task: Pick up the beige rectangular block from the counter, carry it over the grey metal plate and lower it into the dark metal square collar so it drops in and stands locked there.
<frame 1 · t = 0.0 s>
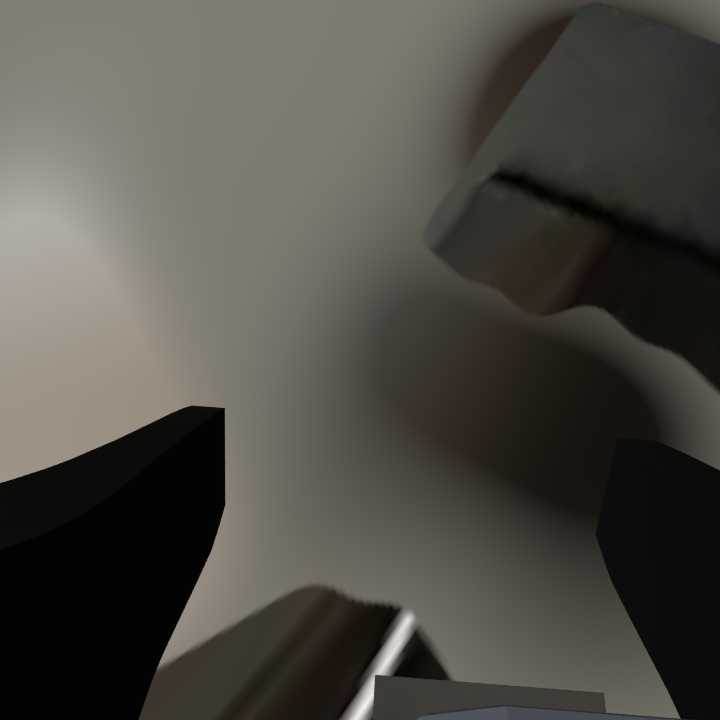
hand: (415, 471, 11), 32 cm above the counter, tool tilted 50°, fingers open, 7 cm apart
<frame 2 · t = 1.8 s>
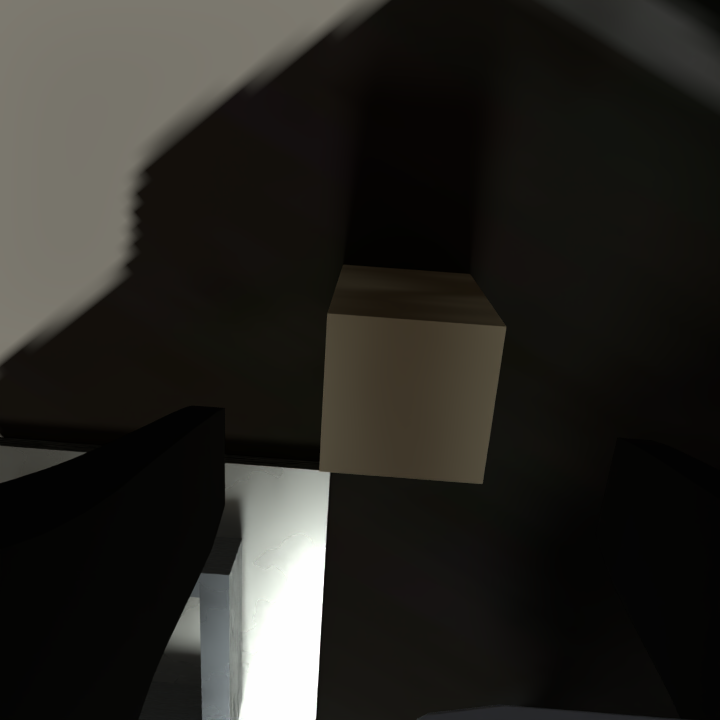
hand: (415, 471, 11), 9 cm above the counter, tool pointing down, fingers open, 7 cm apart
beige rectangular block: (400, 330, 20), on the counter
socket plate: (142, 608, 24), on the counter
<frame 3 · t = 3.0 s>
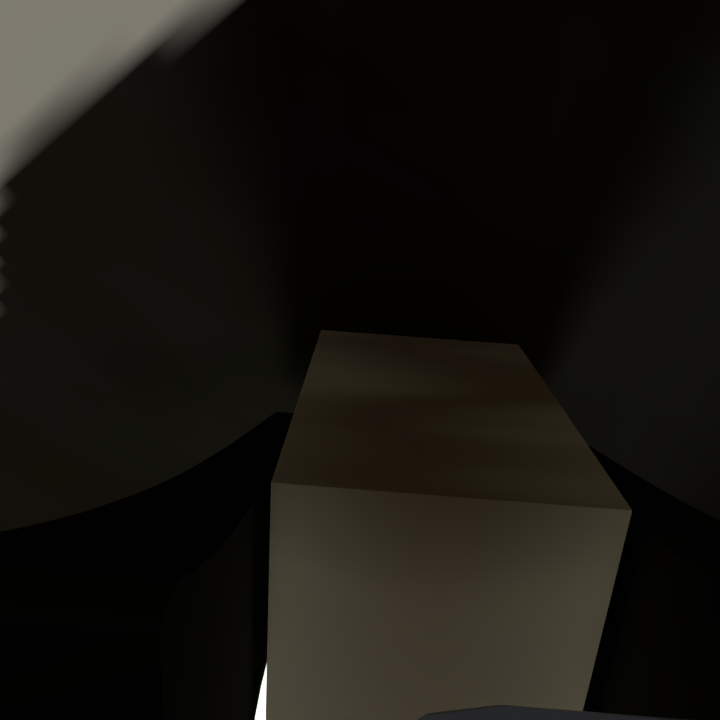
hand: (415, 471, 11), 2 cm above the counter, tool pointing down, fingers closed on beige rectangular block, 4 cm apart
beige rectangular block: (410, 426, 13), on the counter, touching gripper
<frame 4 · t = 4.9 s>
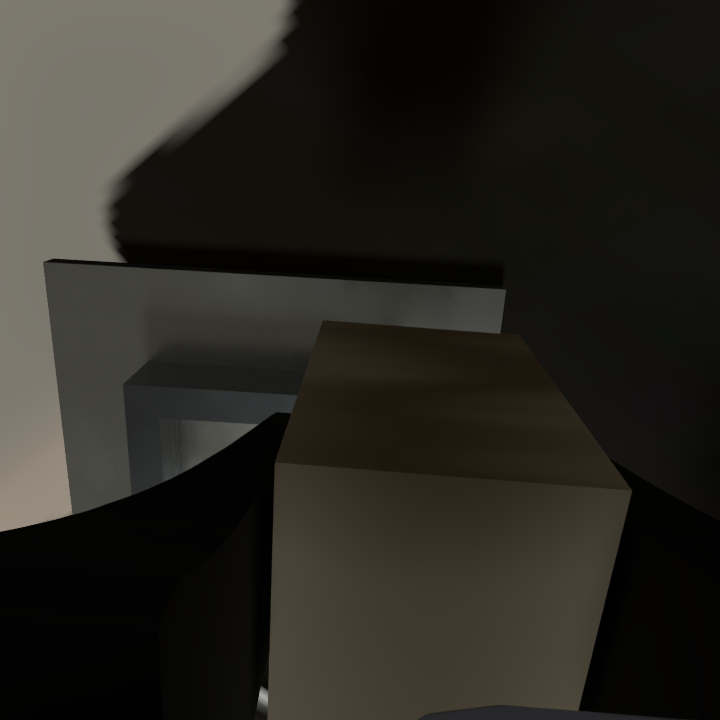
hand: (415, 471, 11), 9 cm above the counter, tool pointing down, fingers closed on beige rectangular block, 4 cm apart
beige rectangular block: (411, 417, 13), point 7 cm above the counter, touching gripper
socket plate: (274, 470, 22), on the counter
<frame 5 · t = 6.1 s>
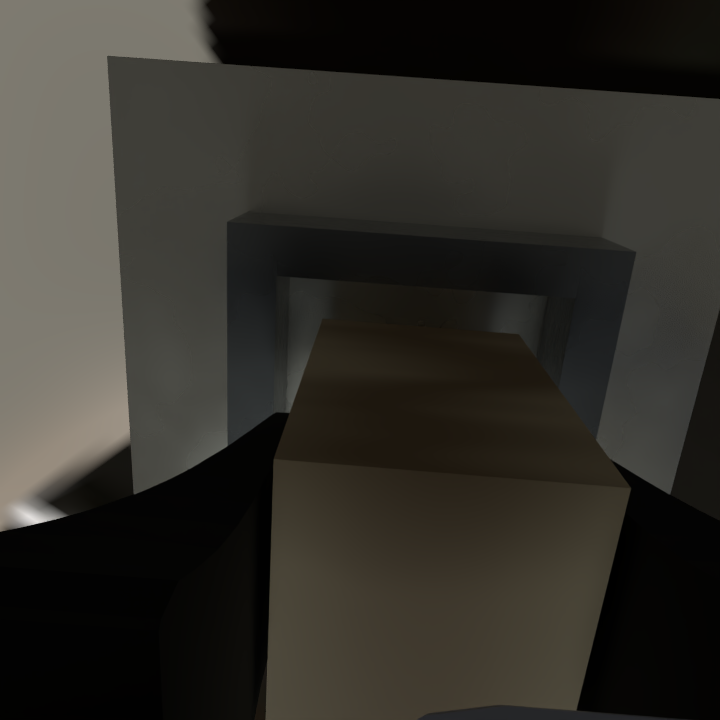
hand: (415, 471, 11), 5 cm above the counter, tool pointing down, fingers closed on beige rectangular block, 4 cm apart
beige rectangular block: (410, 416, 13), point 3 cm above the counter, touching gripper
socket plate: (407, 380, 16), on the counter
when the fingers open (4 cm above the counter, at t = 6.8 s): beige rectangular block stays where it is, resting on socket plate.
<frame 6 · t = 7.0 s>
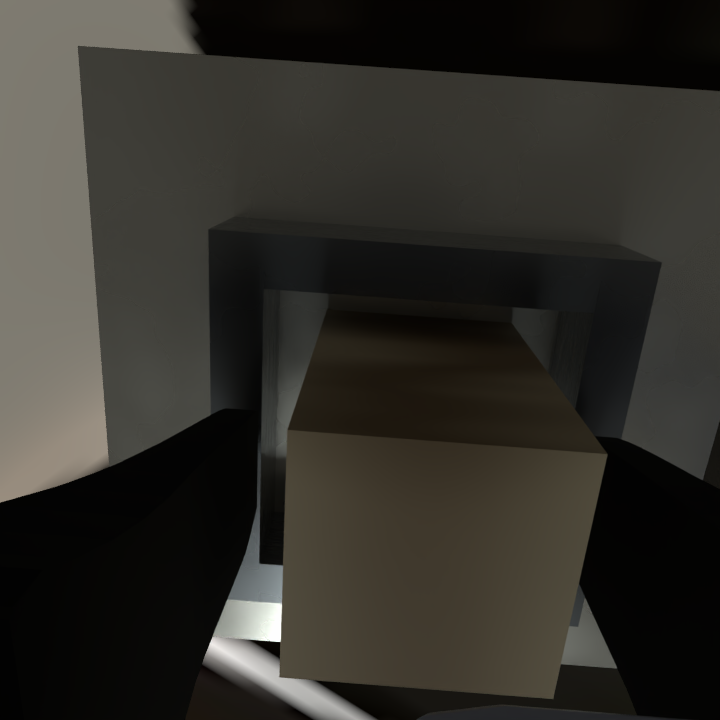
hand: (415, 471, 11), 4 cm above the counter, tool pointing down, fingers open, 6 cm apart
beige rectangular block: (410, 401, 14), point 1 cm above the counter, touching socket plate
socket plate: (407, 398, 15), on the counter
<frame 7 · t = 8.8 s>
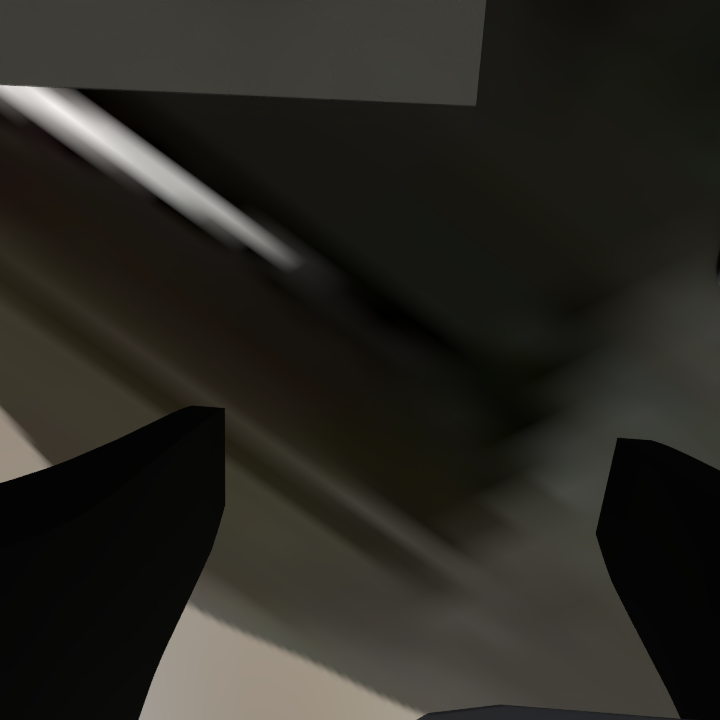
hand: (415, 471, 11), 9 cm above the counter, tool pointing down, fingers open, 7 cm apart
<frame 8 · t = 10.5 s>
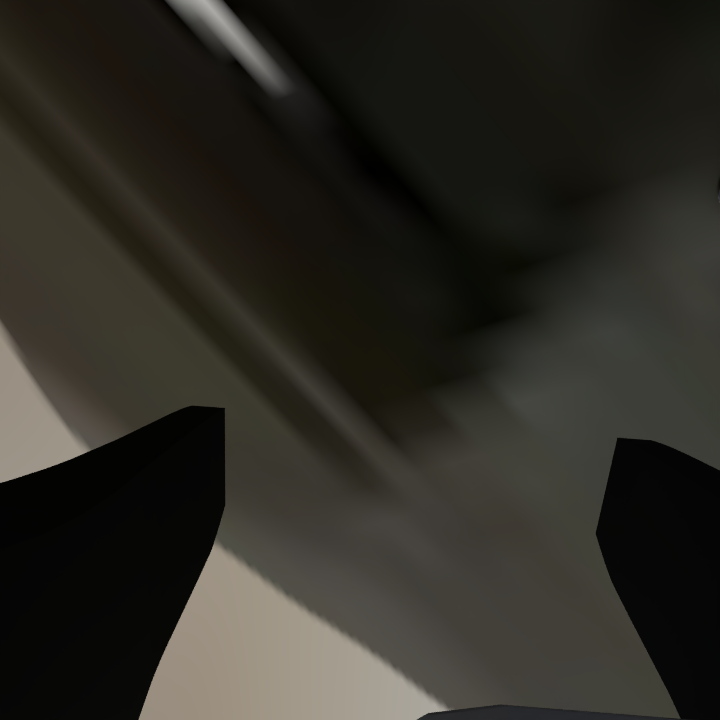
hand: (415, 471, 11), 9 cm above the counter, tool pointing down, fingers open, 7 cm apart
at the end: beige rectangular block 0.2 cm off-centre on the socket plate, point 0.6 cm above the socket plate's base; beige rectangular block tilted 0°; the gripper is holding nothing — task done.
